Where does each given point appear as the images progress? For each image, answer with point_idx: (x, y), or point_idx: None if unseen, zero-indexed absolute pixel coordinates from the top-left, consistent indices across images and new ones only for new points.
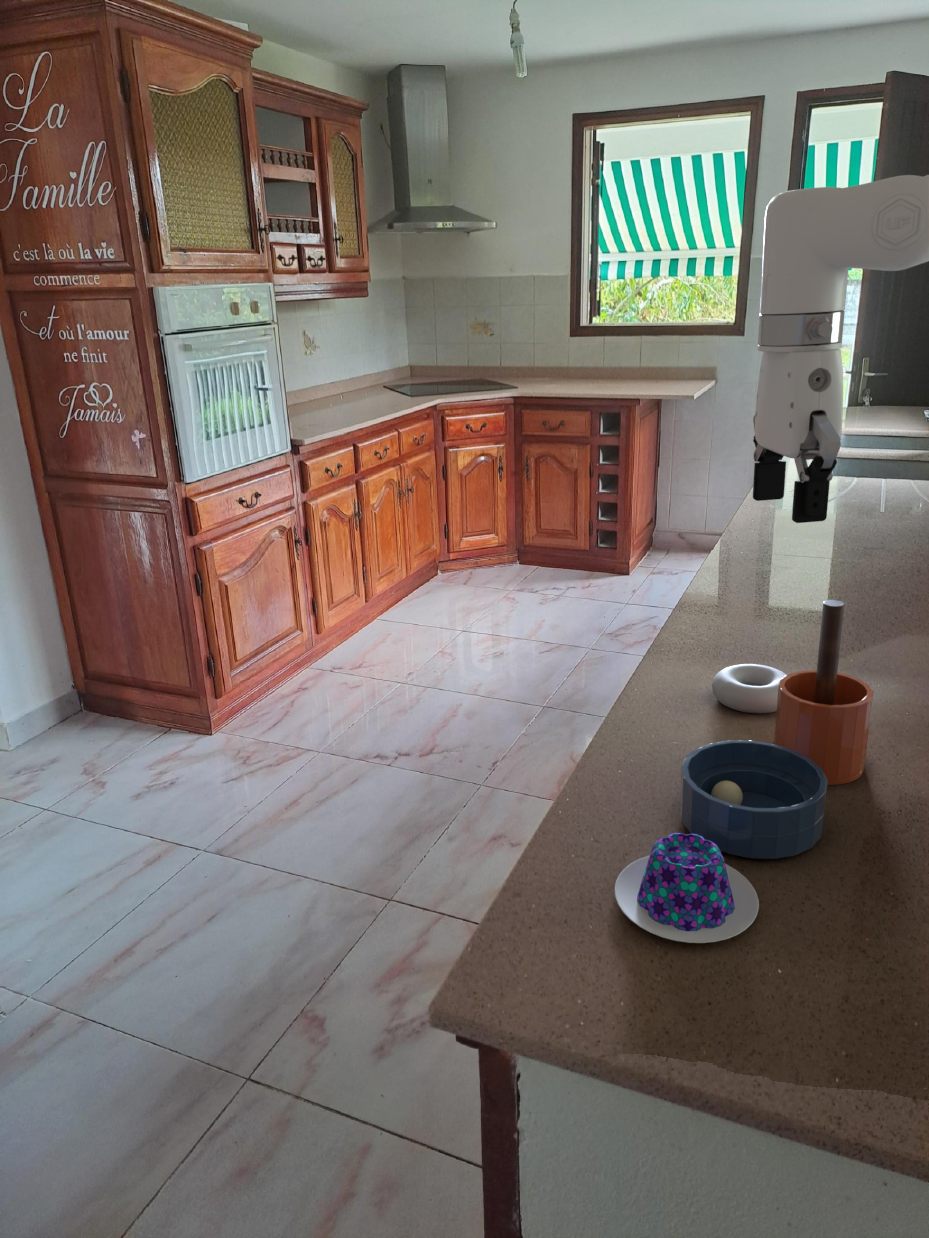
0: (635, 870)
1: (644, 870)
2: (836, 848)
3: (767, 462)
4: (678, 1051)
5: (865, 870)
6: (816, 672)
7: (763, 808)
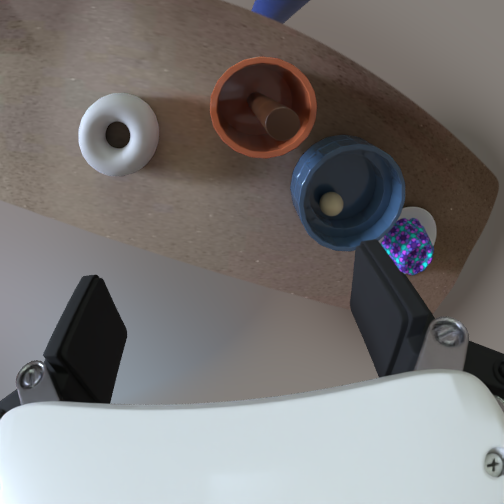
0: None
1: None
2: (378, 136)
3: (87, 397)
4: (466, 256)
5: (401, 129)
6: (217, 103)
7: (399, 207)
